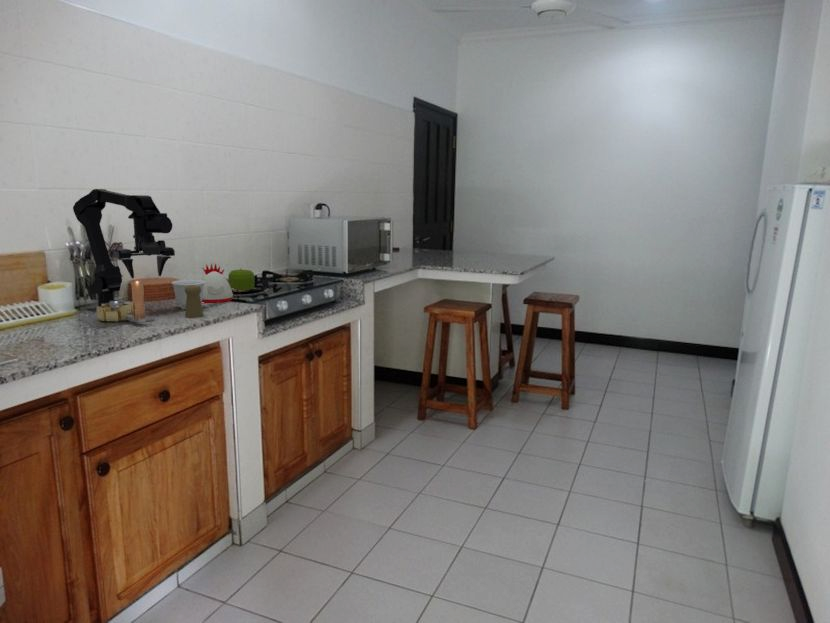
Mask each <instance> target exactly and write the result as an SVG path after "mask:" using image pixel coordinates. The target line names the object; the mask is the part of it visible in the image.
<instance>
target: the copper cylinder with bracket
mask: <svg viewBox="0 0 830 623" xmlns="http://www.w3.org/2000/svg"><path fill="white" fill-rule="evenodd" d="M130 283H131V284H130V285H131V296H132V301H124V302H122V306H116V311H111V307H110V302H109V303H102V306H98V305H97V306H96V307H97V309H96V316H97V319H98V320H101V321H119V320H120V321H123V320H129V321H134V322H138V323H137V324H142V323H147V322H146V317H145V316H146V309H145V308H146V305H145V292H144V291H145V290H144V280H141V279H139V280H138V279H137V280H131V281H130ZM141 322H142V323H141Z"/></svg>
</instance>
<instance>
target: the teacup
mask: <svg viewBox="0 0 830 623" xmlns="http://www.w3.org/2000/svg"><path fill="white" fill-rule="evenodd" d="M205 283H206V282H205V281H204V280H202V279H179V280H174V281H171V283H170V284H171V285H172V287H173V291H174V296H175V301H176V302H177V303H178V305H180V306H181V309H182V310H184V309H186V300H187V294H186V293H185V287H186V286H188V285H198V286H200V288H201V293H200V294H199V295H200V300H201V302H202V299H203V288H204V284H205Z"/></svg>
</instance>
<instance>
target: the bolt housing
mask: <svg viewBox="0 0 830 623" xmlns="http://www.w3.org/2000/svg"><path fill="white" fill-rule="evenodd" d="M122 303H123V301H122V299H115V300H111V301H110V307H111V311H116V306H122ZM145 317H146V322H145V323H147V322H148V321H150V322H155V321H156V319H155V318H153V317H150V316H148V315H145ZM78 320H79V321H82V322H84V323H85V324H87V325H89V324H90V325H89V326H92V327H93V328H95V329H104V328H103V327H105V328H111V327H110V326H112V327H117V326H116V325H120V326H124V324H127V325H133V324H134V323H135V324H139V323H138V322H134V321H129V320H123V321H120V320H119V321H101V320H98V319H97V315H95V316H86V317H85V316H84V317H79V318H78ZM154 320H155V321H154ZM142 323H143V322H141V323H140V324H142ZM135 324H134V325H135Z"/></svg>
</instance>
